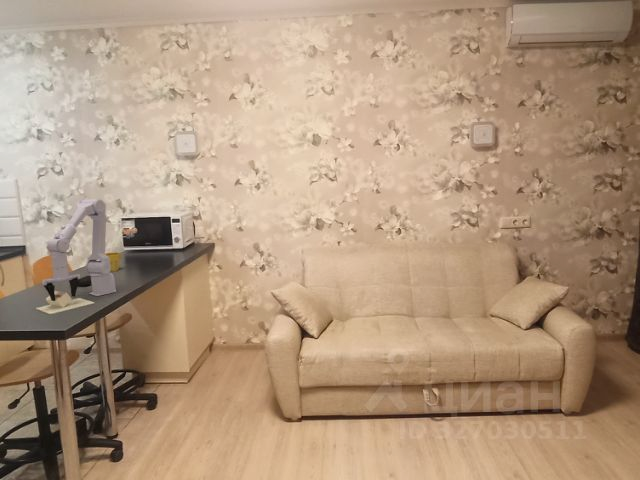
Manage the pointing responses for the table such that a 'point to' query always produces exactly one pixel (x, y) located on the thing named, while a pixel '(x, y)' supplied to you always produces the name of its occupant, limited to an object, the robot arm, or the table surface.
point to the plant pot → (114, 260)
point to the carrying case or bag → (85, 281)
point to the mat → (71, 305)
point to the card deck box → (59, 299)
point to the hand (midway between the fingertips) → (63, 298)
